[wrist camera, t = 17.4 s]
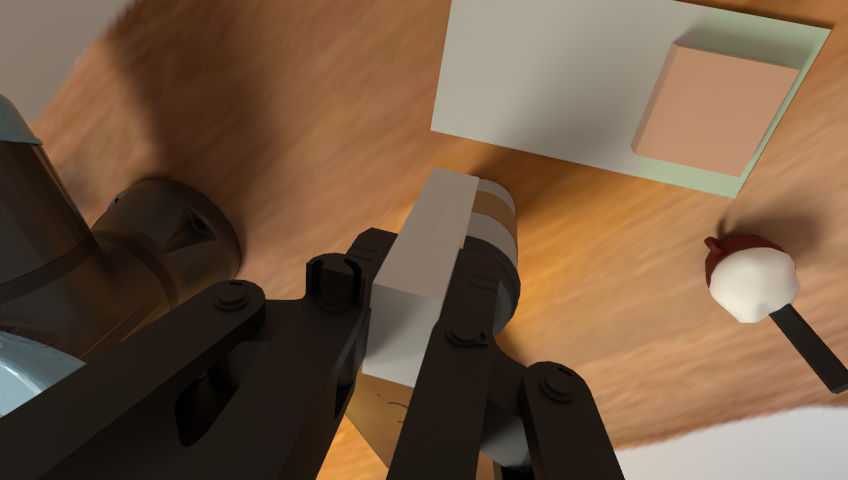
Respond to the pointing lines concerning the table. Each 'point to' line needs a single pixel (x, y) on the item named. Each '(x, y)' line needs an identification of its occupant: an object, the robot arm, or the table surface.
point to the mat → (593, 75)
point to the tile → (711, 108)
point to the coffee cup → (496, 243)
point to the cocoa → (768, 297)
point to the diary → (389, 417)
